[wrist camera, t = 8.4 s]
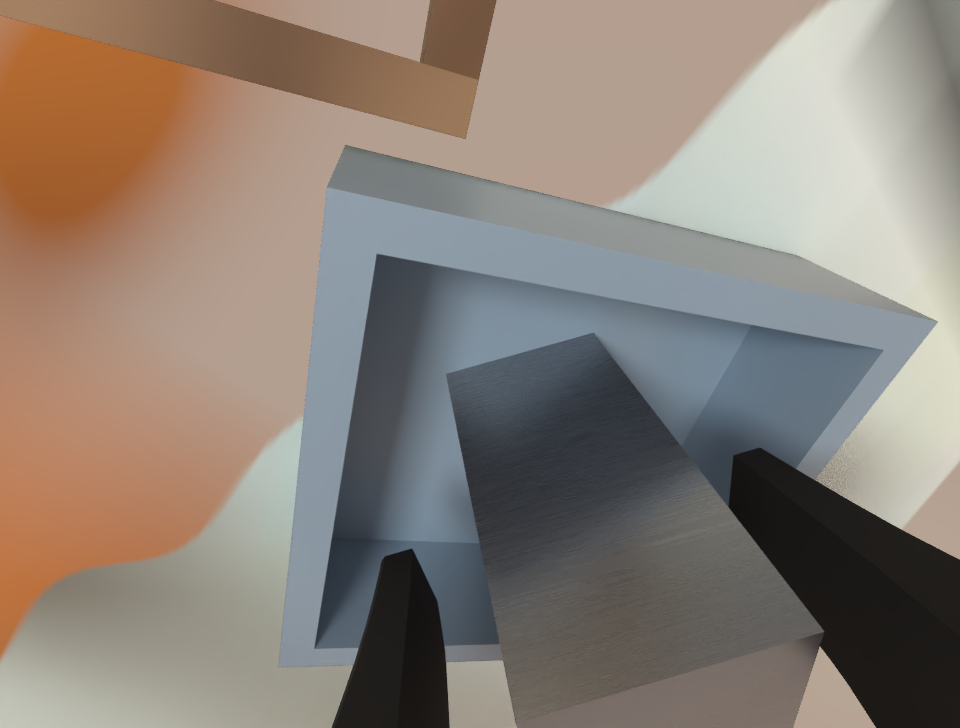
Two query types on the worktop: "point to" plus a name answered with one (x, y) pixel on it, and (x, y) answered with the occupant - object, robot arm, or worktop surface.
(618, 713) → the strut
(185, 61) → the socket
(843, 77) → the worktop surface
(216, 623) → the worktop surface
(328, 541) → the bin
